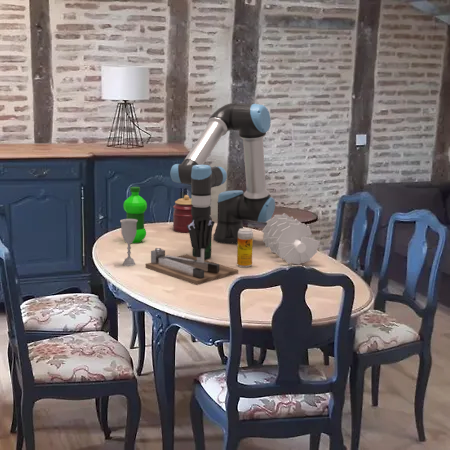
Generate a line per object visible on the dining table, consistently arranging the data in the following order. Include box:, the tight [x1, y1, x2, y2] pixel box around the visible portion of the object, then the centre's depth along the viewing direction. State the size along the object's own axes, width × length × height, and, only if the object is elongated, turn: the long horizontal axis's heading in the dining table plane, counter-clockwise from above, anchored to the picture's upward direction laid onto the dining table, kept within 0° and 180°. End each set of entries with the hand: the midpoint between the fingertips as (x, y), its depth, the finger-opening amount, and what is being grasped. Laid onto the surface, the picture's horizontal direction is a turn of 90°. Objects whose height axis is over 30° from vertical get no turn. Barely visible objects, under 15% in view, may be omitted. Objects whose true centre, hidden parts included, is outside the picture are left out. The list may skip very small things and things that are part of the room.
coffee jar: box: [191, 215, 213, 260], centre depth 290 cm, size 10×8×19 cm
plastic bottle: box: [122, 186, 148, 244], centre depth 312 cm, size 10×10×25 cm
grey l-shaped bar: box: [150, 247, 204, 279], centre depth 267 cm, size 28×5×6 cm, turn 45°
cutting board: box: [145, 254, 239, 285], centre depth 272 cm, size 22×30×2 cm
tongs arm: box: [164, 254, 220, 273], centre depth 269 cm, size 24×2×3 cm, turn 61°
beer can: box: [236, 227, 254, 268], centre depth 278 cm, size 6×6×15 cm
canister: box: [172, 194, 193, 234], centre depth 337 cm, size 13×13×18 cm
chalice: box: [120, 218, 138, 267], centre depth 276 cm, size 7×7×18 cm
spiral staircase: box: [261, 212, 321, 266], centre depth 290 cm, size 18×18×25 cm
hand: (200, 264), depth 269 cm, fingers closed
